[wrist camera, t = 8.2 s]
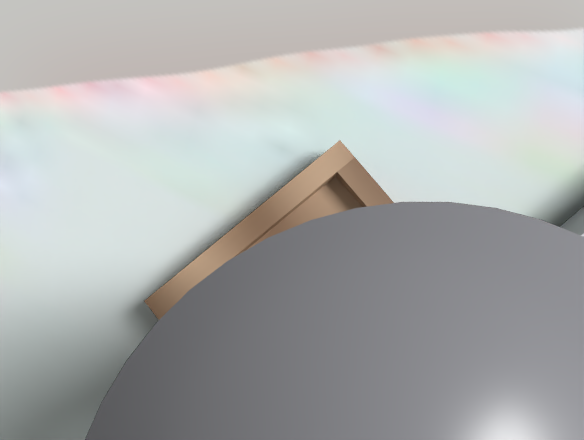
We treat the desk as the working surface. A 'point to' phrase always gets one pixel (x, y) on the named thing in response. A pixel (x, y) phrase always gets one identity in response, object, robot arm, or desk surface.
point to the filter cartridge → (370, 335)
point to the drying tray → (281, 217)
